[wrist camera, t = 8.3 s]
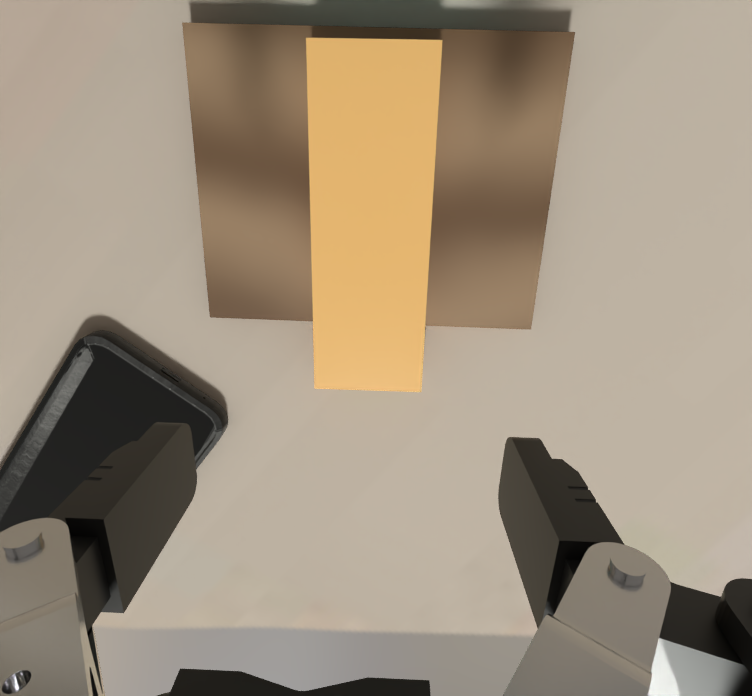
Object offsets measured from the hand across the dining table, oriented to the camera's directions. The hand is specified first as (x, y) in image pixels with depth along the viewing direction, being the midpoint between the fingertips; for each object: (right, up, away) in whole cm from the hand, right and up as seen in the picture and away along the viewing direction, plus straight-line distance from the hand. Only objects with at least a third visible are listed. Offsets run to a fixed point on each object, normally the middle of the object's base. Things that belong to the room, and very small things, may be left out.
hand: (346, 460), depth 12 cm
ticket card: (+1, +8, +7) cm, 10 cm away
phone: (-14, -4, +13) cm, 19 cm away
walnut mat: (+1, +9, +7) cm, 12 cm away
